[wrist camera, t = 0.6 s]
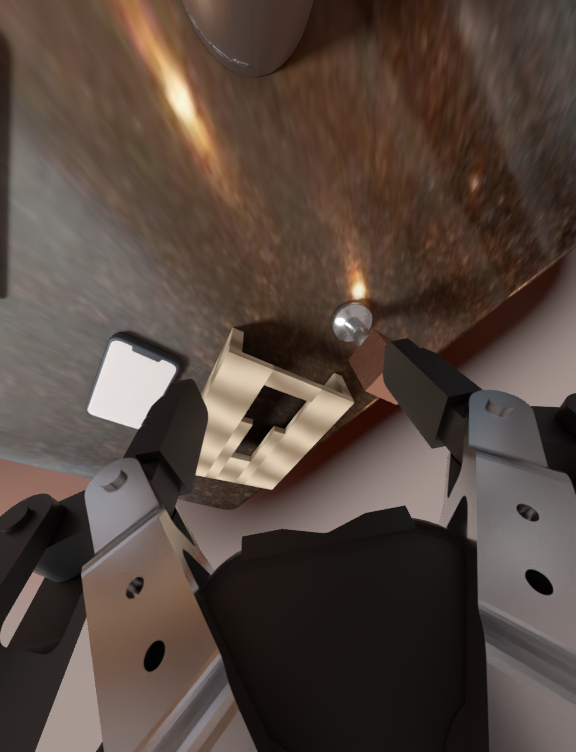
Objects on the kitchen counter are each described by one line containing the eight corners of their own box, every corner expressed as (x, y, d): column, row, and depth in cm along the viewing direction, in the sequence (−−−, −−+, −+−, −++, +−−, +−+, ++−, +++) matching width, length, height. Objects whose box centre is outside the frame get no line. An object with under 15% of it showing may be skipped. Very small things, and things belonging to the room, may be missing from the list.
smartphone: (148, 425, 40) (186, 359, 33) (144, 433, 39) (183, 366, 32) (87, 406, 36) (115, 326, 29) (81, 413, 35) (109, 332, 28)
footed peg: (346, 293, 29) (398, 349, 19) (375, 311, 31) (438, 371, 20) (323, 326, 32) (357, 393, 21) (351, 341, 34) (396, 409, 23)
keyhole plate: (232, 327, 30) (228, 351, 26) (341, 376, 37) (354, 402, 32) (179, 439, 42) (169, 470, 37) (270, 460, 49) (272, 489, 44)
